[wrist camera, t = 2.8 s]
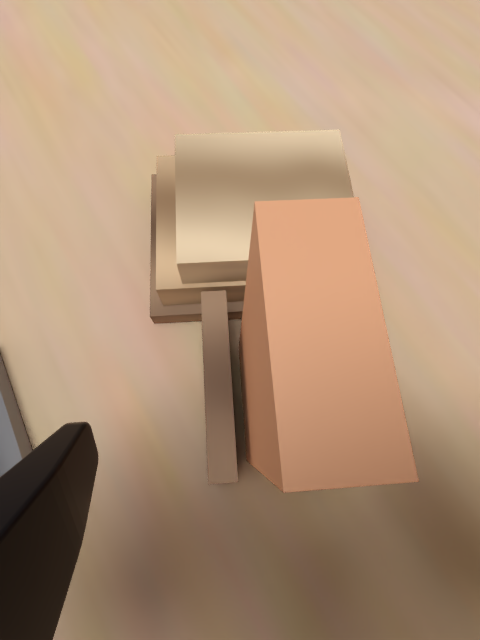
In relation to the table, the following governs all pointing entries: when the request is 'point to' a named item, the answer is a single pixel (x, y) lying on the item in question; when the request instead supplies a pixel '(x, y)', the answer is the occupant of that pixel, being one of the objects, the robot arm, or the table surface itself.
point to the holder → (10, 426)
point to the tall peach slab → (318, 353)
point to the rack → (226, 242)
